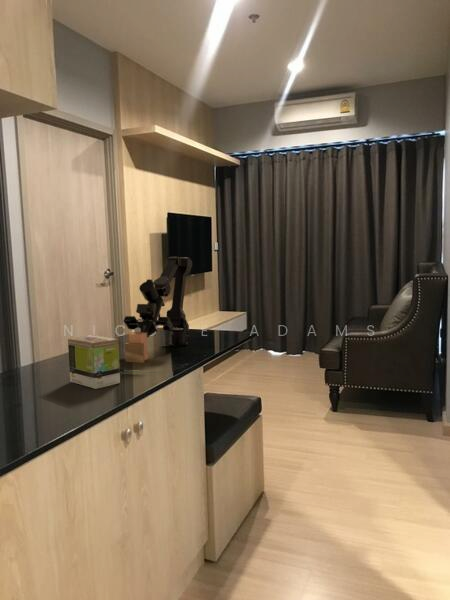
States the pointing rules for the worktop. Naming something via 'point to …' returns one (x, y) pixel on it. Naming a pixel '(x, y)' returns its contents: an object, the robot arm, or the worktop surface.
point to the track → (134, 352)
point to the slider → (139, 339)
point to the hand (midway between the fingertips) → (141, 341)
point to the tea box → (94, 361)
